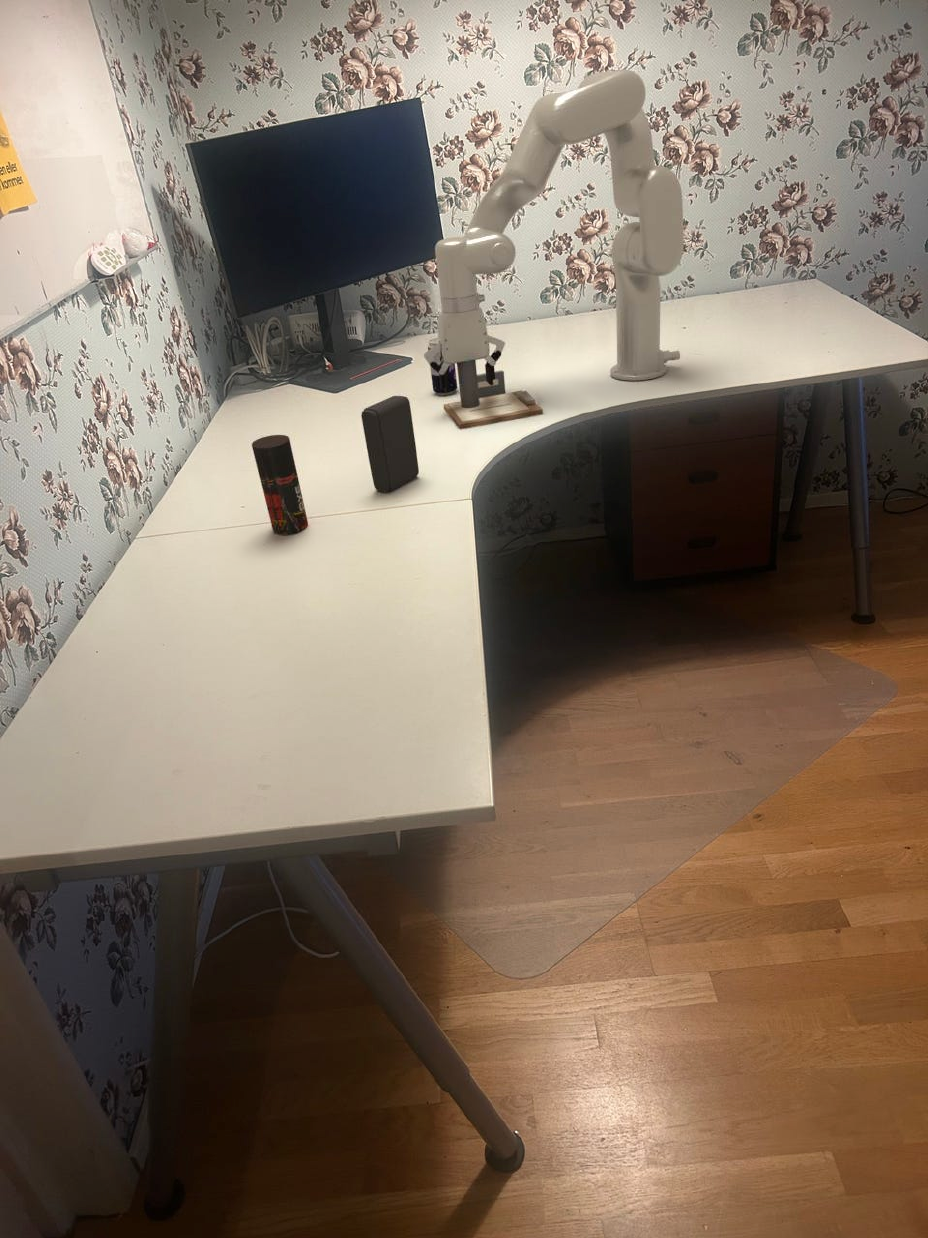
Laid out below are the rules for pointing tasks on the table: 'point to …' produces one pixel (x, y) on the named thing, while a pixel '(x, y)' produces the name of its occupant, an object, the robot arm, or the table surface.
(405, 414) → the dark grey rounded block
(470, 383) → the marker
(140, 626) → the table surface
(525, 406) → the clipboard
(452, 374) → the beverage can
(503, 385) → the bar
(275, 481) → the deodorant
